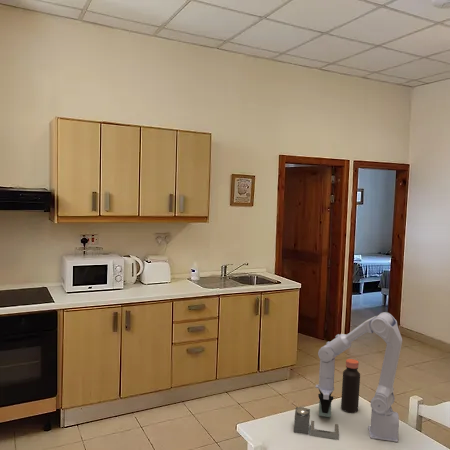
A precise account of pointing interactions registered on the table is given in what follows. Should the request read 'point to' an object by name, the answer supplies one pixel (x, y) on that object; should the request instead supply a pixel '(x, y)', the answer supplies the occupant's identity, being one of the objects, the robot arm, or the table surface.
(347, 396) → the bottle
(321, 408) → the pale blue block
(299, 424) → the motor mount
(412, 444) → the table surface
